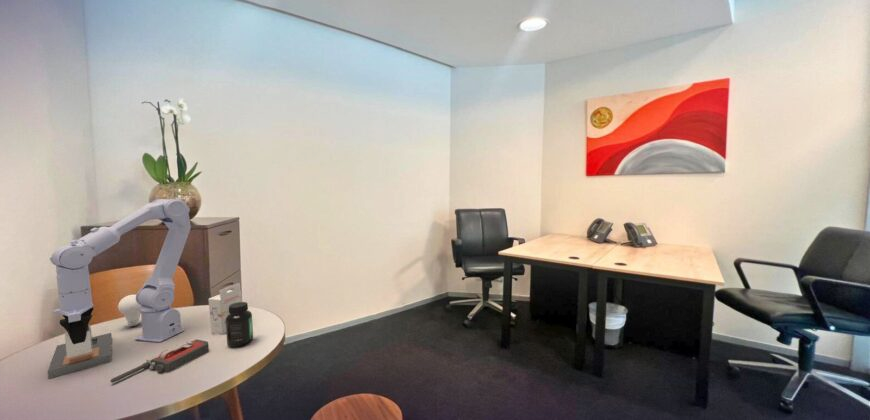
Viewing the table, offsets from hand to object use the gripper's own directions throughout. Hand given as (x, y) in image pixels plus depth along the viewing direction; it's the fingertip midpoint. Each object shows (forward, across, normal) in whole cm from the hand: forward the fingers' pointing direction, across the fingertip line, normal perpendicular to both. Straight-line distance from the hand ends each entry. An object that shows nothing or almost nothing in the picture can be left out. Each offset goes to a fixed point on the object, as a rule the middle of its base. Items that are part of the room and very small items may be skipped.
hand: (79, 339), depth 86 cm
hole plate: (+7, -4, 0) cm, 8 cm away
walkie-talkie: (+7, +18, +16) cm, 25 cm away
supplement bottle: (+7, +19, +33) cm, 39 cm away
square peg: (+3, 0, 0) cm, 4 cm away
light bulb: (+7, -21, +11) cm, 24 cm away
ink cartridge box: (+7, +4, +33) cm, 34 cm away
